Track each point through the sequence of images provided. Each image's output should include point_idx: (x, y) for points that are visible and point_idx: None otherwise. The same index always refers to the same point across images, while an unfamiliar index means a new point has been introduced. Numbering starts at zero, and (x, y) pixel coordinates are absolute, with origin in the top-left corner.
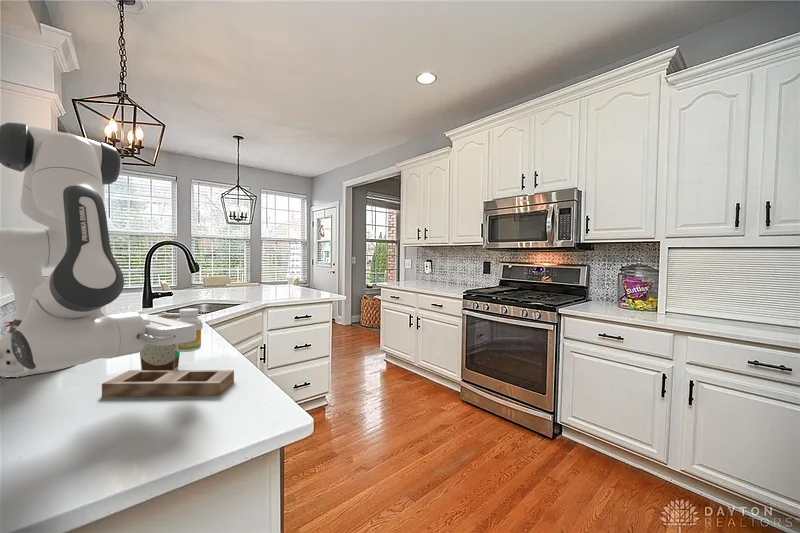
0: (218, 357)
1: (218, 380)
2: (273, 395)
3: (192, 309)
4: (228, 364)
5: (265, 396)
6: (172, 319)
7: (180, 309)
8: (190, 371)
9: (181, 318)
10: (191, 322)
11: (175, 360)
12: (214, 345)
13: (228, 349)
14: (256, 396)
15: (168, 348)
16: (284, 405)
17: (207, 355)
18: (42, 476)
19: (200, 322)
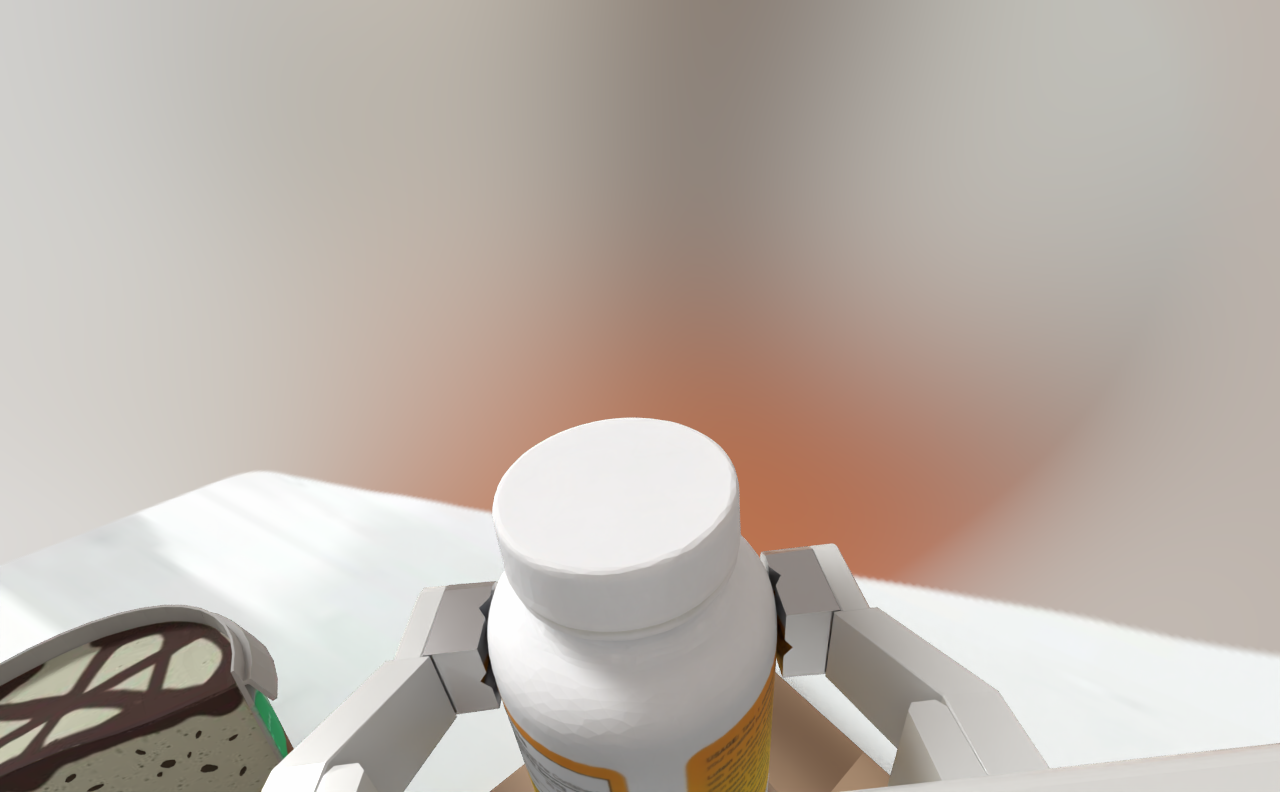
0: (365, 549)
1: (838, 757)
2: (1026, 632)
3: (638, 455)
4: (483, 564)
5: (1024, 660)
6: (391, 702)
7: (523, 543)
8: (532, 790)
9: (639, 653)
10: (772, 615)
11: None
12: (232, 496)
13: (332, 489)
14: (1003, 687)
15: (191, 749)
16: (1202, 664)
17: (291, 564)
18: None
19: (841, 554)
